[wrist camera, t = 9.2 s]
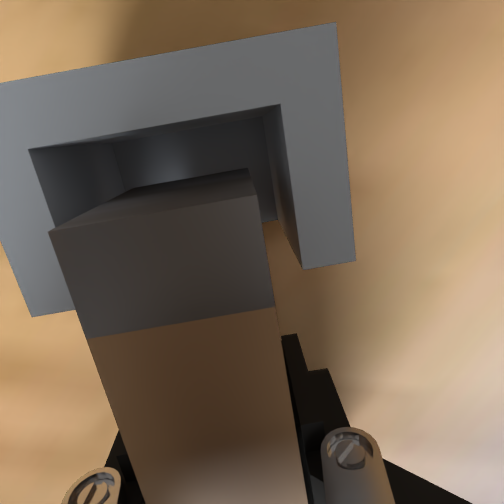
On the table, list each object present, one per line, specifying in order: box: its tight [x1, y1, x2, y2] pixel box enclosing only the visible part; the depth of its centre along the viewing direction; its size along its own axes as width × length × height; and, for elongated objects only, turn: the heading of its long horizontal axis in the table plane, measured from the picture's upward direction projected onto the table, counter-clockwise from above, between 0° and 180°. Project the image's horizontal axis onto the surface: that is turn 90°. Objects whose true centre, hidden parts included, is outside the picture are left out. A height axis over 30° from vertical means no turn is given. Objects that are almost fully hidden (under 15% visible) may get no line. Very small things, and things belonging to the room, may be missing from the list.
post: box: [0, 22, 356, 317], centre depth 11 cm, size 7×5×8 cm, turn 100°
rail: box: [48, 168, 308, 504], centre depth 10 cm, size 3×14×5 cm, turn 10°
